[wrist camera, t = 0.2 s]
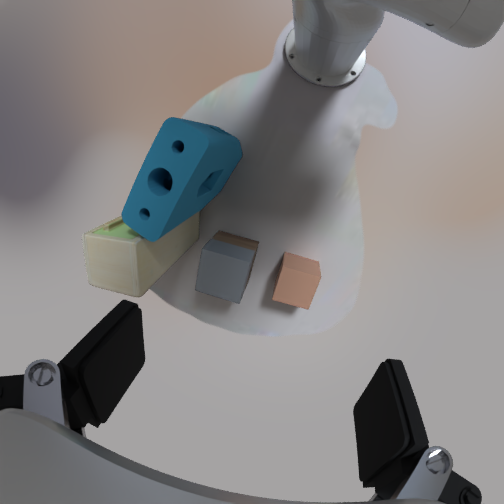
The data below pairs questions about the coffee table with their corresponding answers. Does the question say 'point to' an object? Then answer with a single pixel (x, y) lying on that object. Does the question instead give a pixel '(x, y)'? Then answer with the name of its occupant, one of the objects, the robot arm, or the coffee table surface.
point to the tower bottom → (238, 243)
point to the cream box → (133, 255)
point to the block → (179, 176)
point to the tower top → (224, 270)
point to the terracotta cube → (297, 281)
